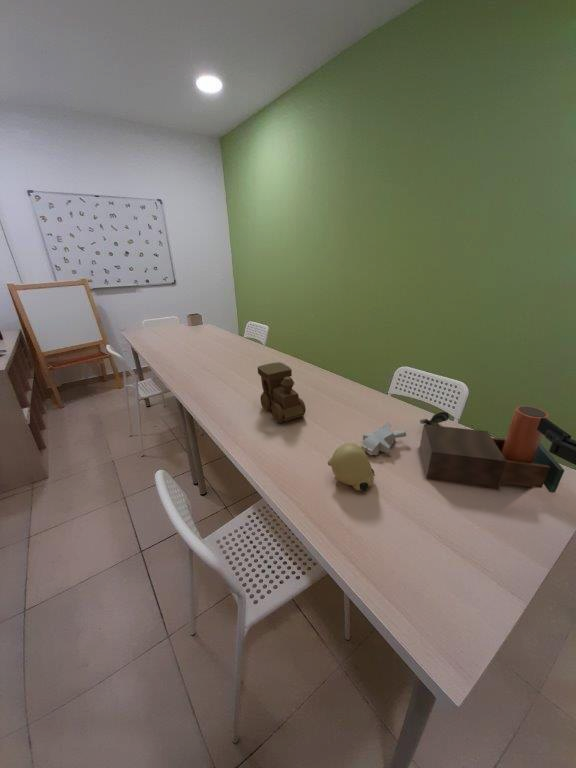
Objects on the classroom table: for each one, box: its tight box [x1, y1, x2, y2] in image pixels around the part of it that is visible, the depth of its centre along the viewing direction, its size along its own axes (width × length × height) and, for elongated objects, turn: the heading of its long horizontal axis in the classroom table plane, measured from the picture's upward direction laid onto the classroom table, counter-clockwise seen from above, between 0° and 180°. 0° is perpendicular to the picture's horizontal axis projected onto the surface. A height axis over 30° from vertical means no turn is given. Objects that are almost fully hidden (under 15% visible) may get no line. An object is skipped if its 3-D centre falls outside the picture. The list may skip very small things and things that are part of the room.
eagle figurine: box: [419, 411, 450, 426], centre depth 99 cm, size 8×7×9 cm
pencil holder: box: [501, 405, 550, 463], centre depth 76 cm, size 7×7×17 cm
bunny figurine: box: [360, 422, 407, 456], centre depth 92 cm, size 10×5×15 cm
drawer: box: [492, 437, 565, 494], centre depth 78 cm, size 17×12×7 cm
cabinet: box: [419, 424, 507, 490], centre depth 81 cm, size 17×14×9 cm
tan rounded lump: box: [327, 442, 376, 492], centre depth 77 cm, size 10×12×11 cm
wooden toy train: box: [257, 361, 307, 424], centre depth 111 cm, size 20×11×17 cm, turn 29°
